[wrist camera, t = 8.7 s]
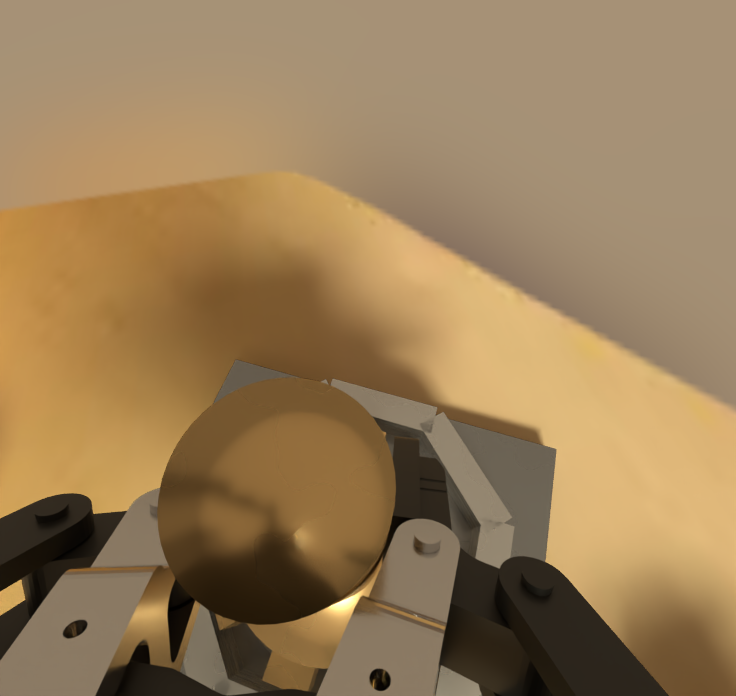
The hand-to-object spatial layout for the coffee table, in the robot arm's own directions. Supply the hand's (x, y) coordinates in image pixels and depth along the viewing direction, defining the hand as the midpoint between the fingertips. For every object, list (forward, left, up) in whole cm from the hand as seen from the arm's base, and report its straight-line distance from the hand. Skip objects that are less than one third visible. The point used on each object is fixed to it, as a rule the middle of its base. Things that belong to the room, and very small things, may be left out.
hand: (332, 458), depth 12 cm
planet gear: (0, -2, -5) cm, 6 cm away
